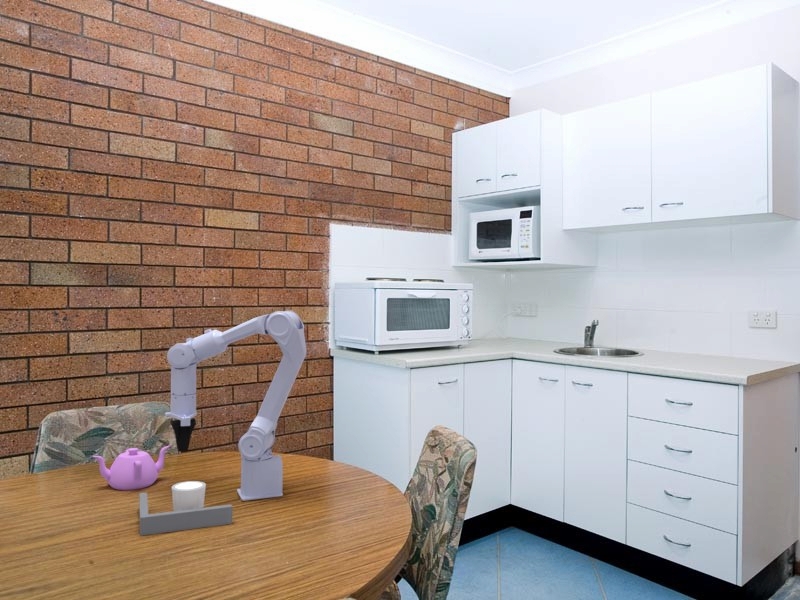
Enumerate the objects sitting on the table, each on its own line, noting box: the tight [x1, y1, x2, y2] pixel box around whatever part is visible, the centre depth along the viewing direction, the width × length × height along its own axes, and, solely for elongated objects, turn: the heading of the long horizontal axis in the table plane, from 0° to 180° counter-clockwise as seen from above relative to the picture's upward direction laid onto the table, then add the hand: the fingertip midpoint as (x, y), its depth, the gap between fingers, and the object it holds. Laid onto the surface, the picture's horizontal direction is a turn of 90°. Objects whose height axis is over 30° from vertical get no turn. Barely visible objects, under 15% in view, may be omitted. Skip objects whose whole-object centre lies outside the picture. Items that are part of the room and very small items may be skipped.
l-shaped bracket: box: [138, 492, 234, 537], centre depth 130 cm, size 18×16×4 cm
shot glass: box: [171, 480, 207, 511], centre depth 128 cm, size 7×7×7 cm
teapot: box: [92, 444, 171, 491], centre depth 151 cm, size 12×14×9 cm
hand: (182, 450), depth 145 cm, fingers closed
